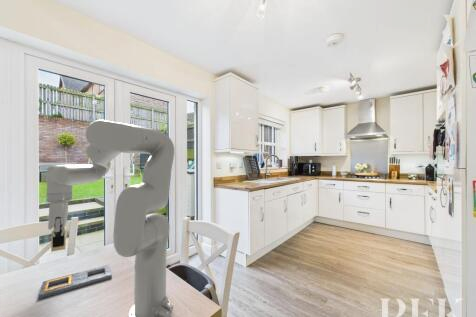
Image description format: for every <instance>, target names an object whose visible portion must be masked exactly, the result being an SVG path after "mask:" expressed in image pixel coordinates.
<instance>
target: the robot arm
mask: <svg viewBox="0 0 476 317" xmlns="http://www.w3.org/2000/svg"><path fill="white" fill-rule="evenodd" d="M85 138H86V141H87V142H88V143H89V144H88V145H87V147H86V152H85V153H86V156H87V158H89V160H90V161H91V163H89V164H52V165H49V166H47V168H46V203H49V206H48V208H49V209H48V225H47V229H48V230H49V231H50V230H51V231H53V230H54V232H53V248H54V247H60V246H63V245H64V235H63V228H66V225H67V223H68V216H69V215H68V214H69V201H70V202H71V201H72V200H73V186H77V185H85V184H92V183H95V182H97V181H99V180H101V179H102V178H103V177H104V176H106V175H107V173H109V171H110V169H111V164H112V163H111V161H112V160H114V159H115V158H116V157H117V156H118V155H120V154H121V153H123V154H139V155H142V154H143V155H144V154H146V155H149V157H148V159H147V160H146V162H145V163H144V166H143V171H142V173H143V174H142V179H141V183H139V184H132V185H129V186H127V187H126V188H124V189H122V191H121V192H120V194H119V196H118V198H117V200H116V206H115V213H114V224H113V234H112V239H113V240H112V242H113V248H114V249H115V251H116V253H117V254H118V255H119V256H121V257H123V258H131V257H134V256H135V258H134V288H133V289H134V290H133V292H134V293H133V294H134V295H133V296H134V298H133V299H134V304H133V305H132V307H131V308H130V310H129V312H128V317H171V312H172V311H173V309H174V306H173V305H172V303H171V300H170V299H169V297H167V250H168V243H169V242H168V241H169V236H170V228H171V227H170V222H169V220H168V218H167V217H166V216H165V215H164V214H161V213H158V212H159V211H160V210H163V209H164V208H166V206H167V205H168V202H169V196H170V191H171V190H170V188H171V178H172V169H173V164H174V158H175V146H174V143H173V141H172V139H171V138H170V137H169V136H168V135H167V133H164V132H163V131H160V130H158V129H154V128H150V127H146V126H145V127H144V126H140V125H139V126H138V125H136V124H129V123H123V122H115V121H110V120H105V119H98V120H94V121H92V122H90V124H89V125H88V126H87V127H86V130H85ZM60 229H61V230H60Z"/></svg>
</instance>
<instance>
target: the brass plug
mask: <svg viewBox="0 0 476 317" xmlns="http://www.w3.org/2000/svg"><path fill="white" fill-rule="evenodd" d="M60 230H61V229H60ZM53 232H54V230H53V229H52V230H51V235H50V236H51V237H50V238H51V241H50V242H51V243H50V244H51V250H50V251H51V252H58V251H63V250H66V248H67V227H64V228H63V235H64V245H63V246H60V247H54V248H53Z"/></svg>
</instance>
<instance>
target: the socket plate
mask: <svg viewBox="0 0 476 317" xmlns="http://www.w3.org/2000/svg"><path fill="white" fill-rule="evenodd" d="M110 266H111V265H110V264H106V265H103V266H99V267H95V268H91V269H87V270H83V271H79V272H75V273H72V274H68V275H65V276H61V277H56V278H51V279H48V280H45V281H43V282H42V284H41V287H40V290H39V293H38V300H42V299H45V298H48V297H49V298H50V297H52V296H55V295H59V294H62V293H66V292H69V291H72V290H76V289H79V288H82V287H86V286H89V285H93V284H97V283H101V282H103V281H107V280H111V279H113V277H112V270H111V267H110ZM103 272H104V274H101V275H97V276H94V277H91V278H90V277H89V276H92V275H96V274H100V273H103ZM66 282H68V283H66ZM63 283H66V284H63ZM58 284H63V285H59V286H55V287H52V288H50V287H51V286H54V285H58Z"/></svg>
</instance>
